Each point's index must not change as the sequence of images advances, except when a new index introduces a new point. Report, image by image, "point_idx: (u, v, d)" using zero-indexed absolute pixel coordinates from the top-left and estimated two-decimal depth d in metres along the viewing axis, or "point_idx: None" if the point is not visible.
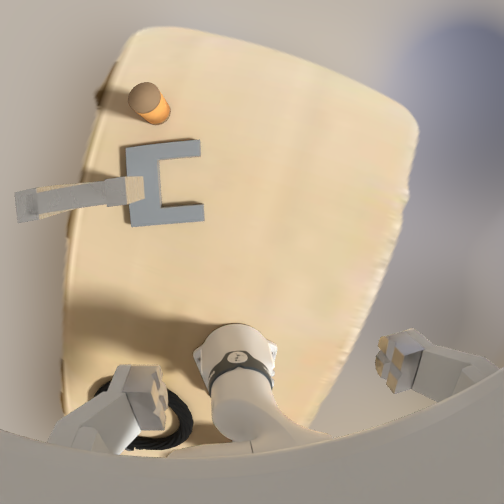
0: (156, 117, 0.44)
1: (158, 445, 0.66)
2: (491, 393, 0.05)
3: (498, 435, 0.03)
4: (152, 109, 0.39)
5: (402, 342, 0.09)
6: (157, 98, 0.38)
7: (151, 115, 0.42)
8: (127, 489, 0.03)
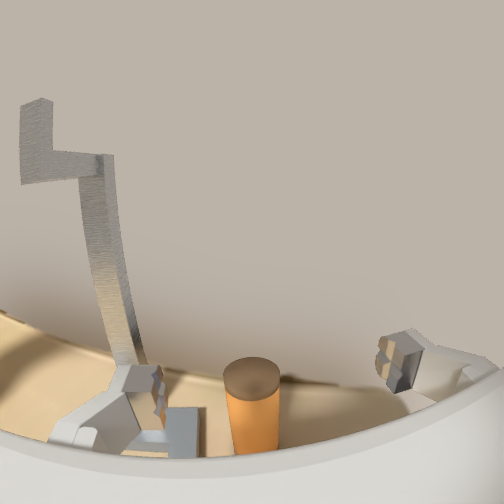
0: (231, 423, 0.25)
1: None
2: (491, 393, 0.05)
3: (499, 435, 0.03)
4: (228, 389, 0.23)
5: (402, 342, 0.09)
6: (248, 389, 0.23)
7: (227, 405, 0.25)
8: (127, 489, 0.03)
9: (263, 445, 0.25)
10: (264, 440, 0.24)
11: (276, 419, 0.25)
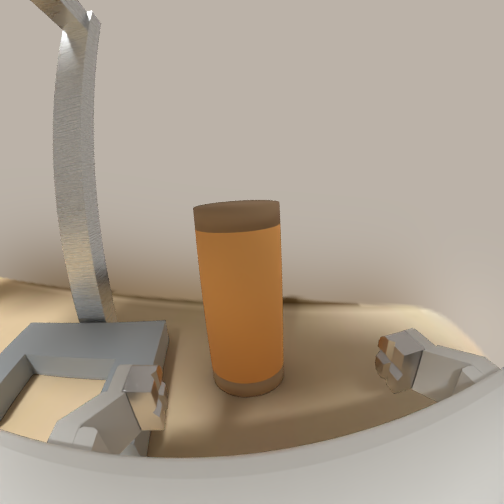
0: (205, 305, 0.17)
1: None
2: (491, 393, 0.05)
3: (499, 435, 0.03)
4: (199, 220, 0.16)
5: (402, 342, 0.09)
6: (228, 208, 0.15)
7: (199, 267, 0.17)
8: (127, 489, 0.03)
9: (258, 348, 0.17)
10: (260, 335, 0.17)
11: (278, 294, 0.17)
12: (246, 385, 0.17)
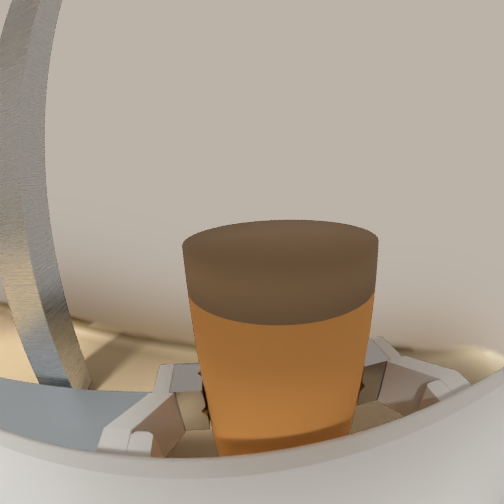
0: (213, 427, 0.08)
1: None
2: (491, 393, 0.05)
3: (499, 435, 0.03)
4: (196, 282, 0.06)
5: None
6: (276, 261, 0.06)
7: (200, 367, 0.08)
8: (127, 490, 0.03)
9: None
10: None
11: (354, 409, 0.08)
12: None
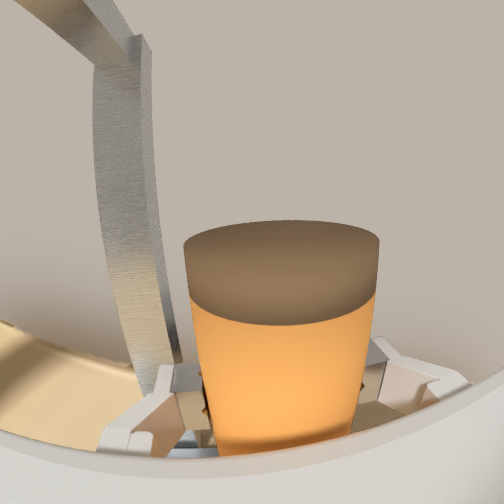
0: (214, 427, 0.08)
1: None
2: (491, 393, 0.05)
3: (498, 435, 0.03)
4: (198, 282, 0.06)
5: None
6: (278, 261, 0.06)
7: (201, 368, 0.08)
8: (127, 489, 0.03)
9: None
10: None
11: (354, 409, 0.08)
12: None
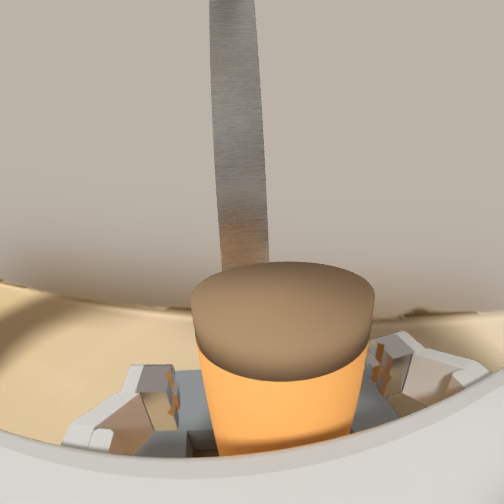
0: (220, 452, 0.08)
1: None
2: (491, 393, 0.05)
3: (498, 435, 0.03)
4: (205, 339, 0.07)
5: (392, 345, 0.09)
6: (279, 328, 0.06)
7: (208, 403, 0.08)
8: (127, 489, 0.03)
9: None
10: None
11: None
12: None
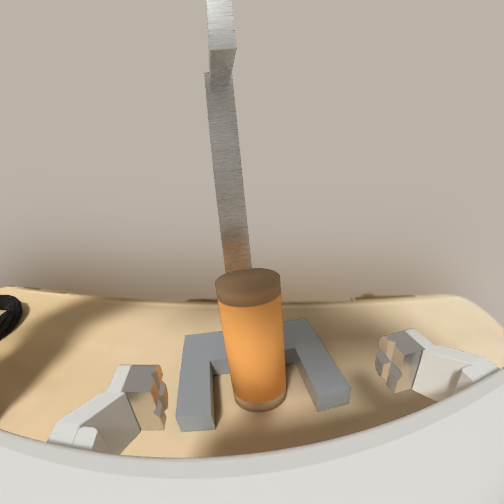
0: (227, 350, 0.23)
1: None
2: (491, 393, 0.05)
3: (498, 435, 0.03)
4: (221, 296, 0.22)
5: (402, 342, 0.09)
6: (243, 290, 0.21)
7: (222, 325, 0.23)
8: (127, 489, 0.03)
9: (267, 379, 0.23)
10: (268, 371, 0.23)
11: (280, 342, 0.23)
12: (259, 404, 0.23)
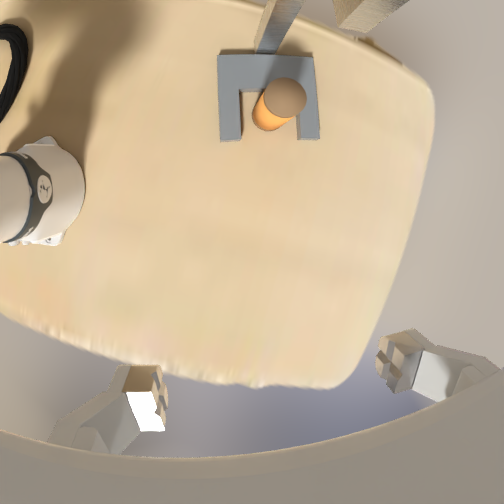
0: (259, 112, 0.36)
1: None
2: (491, 393, 0.05)
3: (499, 435, 0.03)
4: (267, 107, 0.31)
5: (402, 342, 0.09)
6: (282, 113, 0.31)
7: (261, 106, 0.34)
8: (127, 490, 0.03)
9: (277, 126, 0.39)
10: (279, 125, 0.38)
11: None
12: (267, 129, 0.42)
